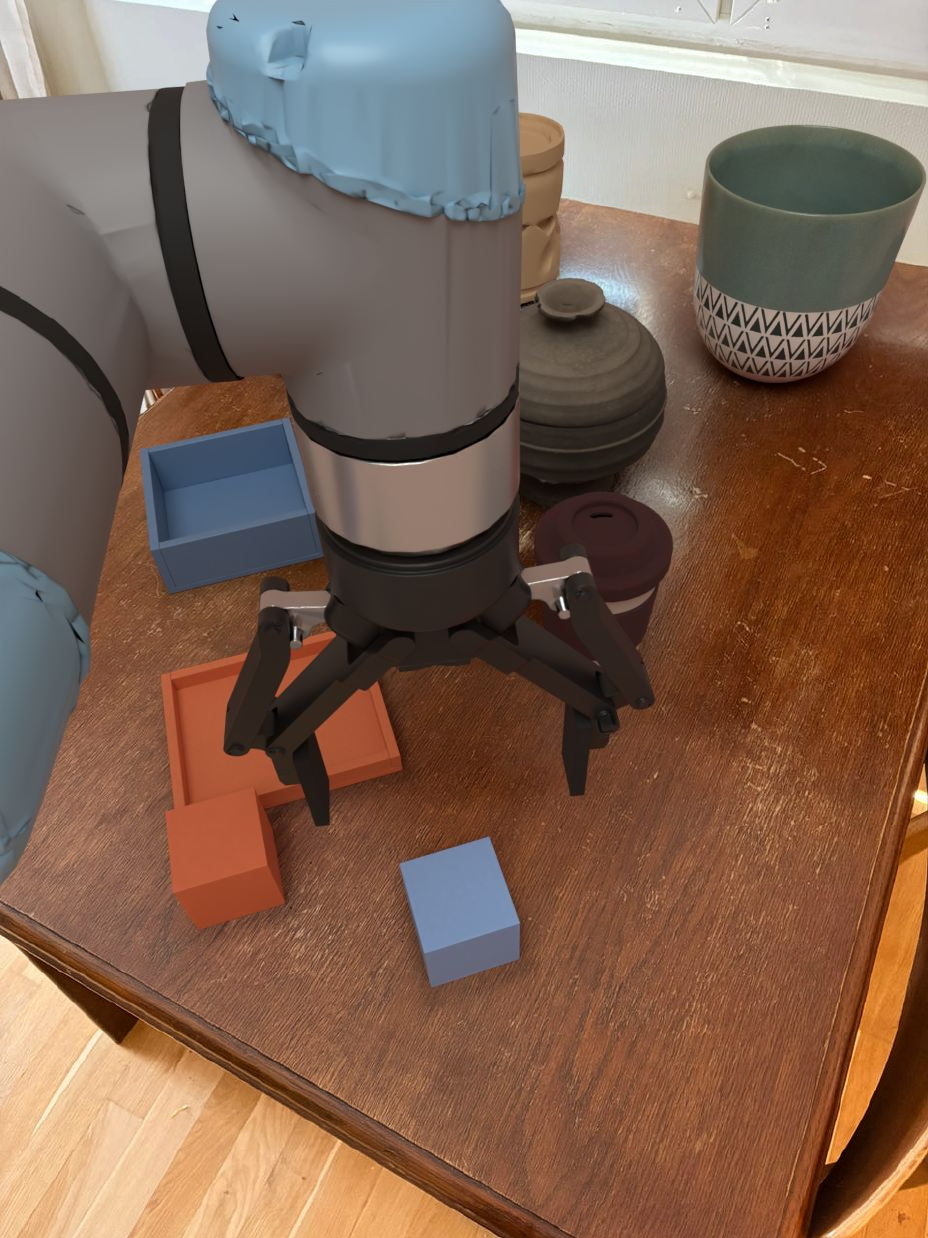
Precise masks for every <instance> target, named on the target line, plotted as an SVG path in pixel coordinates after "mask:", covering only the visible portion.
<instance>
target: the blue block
mask: <svg viewBox="0 0 928 1238" xmlns="http://www.w3.org/2000/svg"><path fill="white" fill-rule="evenodd" d="M398 865H399V869H400V874H401V879H402V883H403V889H404V893H405V896H406V897H405V898H406V902H407V905H408V909H409V911H410V912H409V913H410V916H411V920H412V924H413V926H414V930H415V934H416V938H417V941H418V945H419V949H420V953H421V957H422V960H423V963H424V967H425V970H426V975H427V979H428V982H429V986H430V988H431V989H433V988H436V987H439V986H443V985H445V984H448V983H451V982H454V981H457V980H461V979H463V978H466V977H469V976H472V975H475V974H476V975H477V974H478V973H482V972H485V971H488V970H490V969H491V970H492V969H494V968H497V967H501V966H503V965H507V964H509V963H512V962H516V961H519V960H520V956H521V955H520V951H521V950H520V948H521V947H520V946H521V921H520V919H519V916H518V913H517V910H516V908H515V905H514V901H513V899H512V896H511V893H510V890H509V888H508V885H507V882H506V879H505V877H504V874H503V872H502V868H501V865H500V863H499V859H498V856H497V854H496V851H495V848H494V845H493V843H492V840H491V837H490V836H485V837H483V838H479V839H476V840H472V841H469V842H466V843H463V844H460V845H456V846H453V847H449V848H445V849H443V850H439V851H437V852H433V853H430V854H426V855H423V856H419V857H416V858H413V859H409V860H407V861H403V862H400V863H399V864H398Z"/></svg>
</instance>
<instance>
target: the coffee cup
mask: <svg viewBox="0 0 928 1238" xmlns="http://www.w3.org/2000/svg"><path fill="white" fill-rule="evenodd" d="M576 543H577V544H581V545H583V546H584V547H585V549H586V552H587V555H588V559H589V562H590V566H591V569H592V573H593V577H594V580H595V584H596V587H597V591H598V593H599V594H600V596H601V597H602V599H603V600H604V602H605V603H606V605H607V606H608V608H609V609H610V610H611V612H612V613H613V615H614V616H615V618H616V619H617V621H618V622H619V624H620V625H621V627H622V628H623V630H624V631H625V633H626V634H627V636H628V637H629V638H630V640H631V641H632V643H633V644H634V646H635V647H636V649H637V650H638V651H639V648H640V644H641V642H642V641H643V640H644V638H645V636H646V633H647V629H648V627H649V623H650V619H651V616H652V612H653V610H654V609H653V608H654V605H655V602H656V598H657V595H658V590H659V587H660V583H662V581H663V580H664V579H665V577H666V575H667V573H668V572H669V568H670V566H671V562H672V557H673V551H674V540H673V534H672V532H671V529H670V527H669V526H668V523H667V522H666V521H665V519H663V517H661V515H660V514H659V513H657V511H655V510H654V509H653V508H651V506H648V505H647V504H645V503H643V502H641V501H638V500H637V499H635V498H632V497H630V496H628V495H626V494H622V493H618V492H614V491H613V492H612V491H608V492H592V493H586V494H583V495H580V496H576V497H572V498H569V499H567V500H564V501H562V502H560V503H558V504H557V505H555V506H554V507H552V508H549V509H548V510H547V511H546V512H545V513H544V514H543V516H542V517H541V518H540V520H539V521H538V523H537V525H536V528H535V530H534V538H533V557H534V561H535V564H536V566H540V565H546V564H551V563H556V562H559V561H558V554H559V551H560V550H561V549H562V548H563V547H564V546H566V545H569V544H576ZM541 609H542V611H541V612H542V621H543V628H544V629H546V630H547V631H549V632H550V633H552V634H553V635H555V636H556V637H557V638H559V639H560V640H562V641H563V642H565V643H566V644H568V645H569V646H571V647H572V648H574V649H575V650H577V651H578V652H580V653H581V654H583V655H584V656H585V657H587V658H588V659H590V660H591V661H593V662H594V663H596V664H597V665H599V664H598V662H597V661H596V660H595V658H594V657H593V656H592V654H591V653H590V652H589V650H588V649H587V648H586V646H585V645H584V644H583V642H582V641H581V640H580V639H579V637H578V636H577V634H576V632H575V631H574V628H573V626H572V623H571V619H570V618H568V619H560V618H559V617H558V614H557V611H554V610H551V609H550V608H549V606H548V605H547V603H546V602H544V601H542V600H541ZM599 666H600V665H599ZM600 667H601V666H600Z"/></svg>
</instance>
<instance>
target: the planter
mask: <svg viewBox="0 0 928 1238" xmlns="http://www.w3.org/2000/svg"><path fill="white" fill-rule="evenodd" d="M926 184H927V172H926V169H925V167H924V165H923V163H922V162H921V161H920V160H919V159H918V157H917V156H915V155H914V154H913V153H912V152H910V151H909V150H907V149H906V148H904V147H902V146H901V145H899V144H897V143H895V142H893V141H891V140H888V139H886V138H883V137H880V136H877V135H875V134H871V133H868V132H863V131H860V130H854V129H850V128H846V127H845V128H844V127H838V126H830V125H819V124H783V125H773V126H766V127H760V128H755V129H750V130H747V131H743V132H740V133H737V134H735V135H732V136H730V137H728V138H726V139H724V140H722V141H720V142H719V143H718V144H717V145H715V146H714V147H713V148H712V149H711V150H710V151H709V153H708V154H707V157H706V160H705V164H704V172H703V180H702V189H701V198H700V200H701V201H700V211H699V221H698V231H697V238H696V239H697V240H696V248H695V249H696V250H695V262H694V272H693V273H694V274H693V282H692V288H693V289H692V302H693V312H694V313H693V314H694V317H695V323H696V327H697V331H698V334H699V336H700V338H701V340H702V342H703V343H704V345H705V347H706V348H707V350H708V351H709V352H710V354H712V356H713V357H714V358H715V359H716V360H717V361H718V362H719V363H720V364H721V365H723V366H724V367H725V368H727V369H728V370H729V371H731V372H733V373H734V374H736V375H738V376H740V377H742V378H745V379H749V380H751V381H755V382H760V383H766V384H767V383H769V384H780V383H781V384H783V383H791V382H796V381H799V380H802V379H806V378H808V377H811V376H814V375H816V374H818V373H820V372H822V371H824V370H826V369H828V368H830V367H832V365H834V364H835V363H836V362H838V361H839V360H840V359H842V358H843V357H844V356H845V355H846V354H847V353H848V352H849V351H851V349H852V347H854V345H855V344H856V343H857V341H858V340H859V338H860V337H861V335H863V334H864V331H865V329H867V326H868V325H869V323H870V322H871V320H872V318H873V316H874V314H875V311H876V309H877V308H878V304H879V302H880V300H881V297H882V294H883V293H884V290H885V287H886V285H887V284H888V283H887V282H888V280H889V278H890V276H891V273H892V271H893V267H894V266H895V262H896V261H897V258H898V256H899V253H900V250H901V247H902V245H903V243H904V240H905V238H906V236H907V233H908V230H909V228H910V226H911V223H912V221H913V218H914V216H915V213H916V211H917V208H918V206H919V203H920V200H921V198H922V195H923V192H924V190H925V186H926Z"/></svg>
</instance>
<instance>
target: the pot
mask: <svg viewBox="0 0 928 1238" xmlns="http://www.w3.org/2000/svg"><path fill="white" fill-rule="evenodd" d="M604 294H605V293H604V290H603V288H602V287H601V286H600V285H598V283H596V282H593V281H590V280H586V279H585V278H578V277H564V278H557V279H556V280H554V281H551V282H548V283H546V284H544V285H543V286H541V287H540V288H539V289H538V290H537V292H536V296H534V301H533V303H532V304H530V305H527V306H525V307H523V308H522V309H520V358H519V363H520V366H519V389H520V481H519V490H518V491H519V494H521V496H522V497H524V498H526V499H527V500H528V501H531V503H534V504H537V505H539V506H542V507H545V508H548V509H551V508H552V507H554V506H555V505H557V504H558V503H560V502H562V501H564V500H567V499H569V498H572V497H576V496H580V495H583V494H586V493H592V492H610V490H611V488H612V487H613V485H614V480H615V474H616V473H619V472H621V471H623V470H625V469H627V468H628V467H631V466H632V465H633V464H635V463H637V462H638V461H639V460H640V459H641V458H643V457H644V456H645V455H646V454H647V452H648V451H649V450H650V448H651V447H652V446H653V443H654V442H655V440H656V437H657V435H658V434H659V433H660V431H661V428H662V426H663V423H664V420H665V411H666V407H667V402H668V388H667V384H666V383H667V382H666V373H665V372H666V365H665V359H664V354H663V352H662V349H661V347H660V345H659V343H658V342H657V340H656V338H655V337H654V335H653V334H652V332H651V331H650V330H649V329H648V328H647V327H646V325H644V323H642V322H641V321H640V320H639V319H637V318H636V317H635V316H634V315H632V314H631V313H629V312H627V311H626V310H624V309H622V308H620V307H618V306H617V305H615V304H612V303H609V302H607V301H606V300H607V299H606V296H605V295H604Z"/></svg>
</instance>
